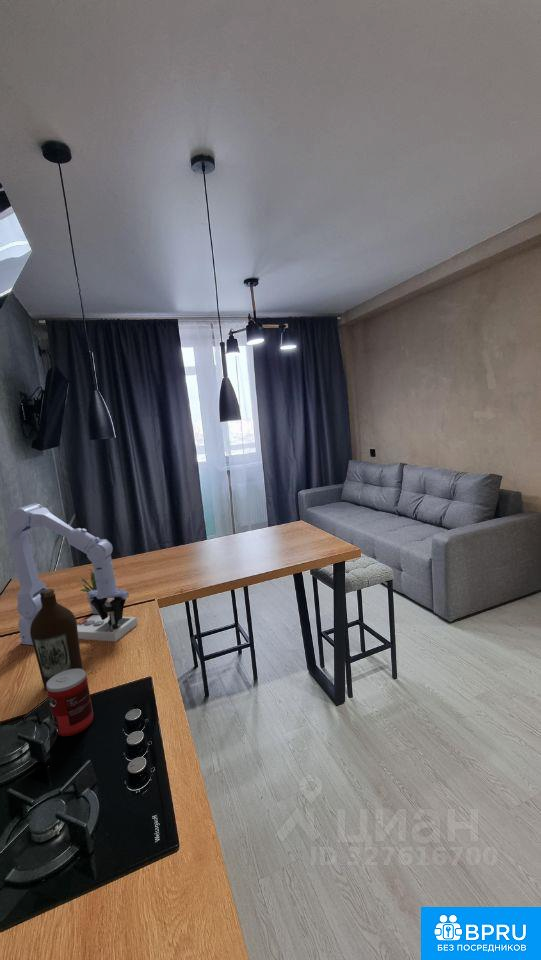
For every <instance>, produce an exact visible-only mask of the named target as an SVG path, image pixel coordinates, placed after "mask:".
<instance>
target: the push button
mask: <svg viewBox="0 0 541 960" xmlns="http://www.w3.org/2000/svg"><path fill="white" fill-rule="evenodd" d="M112 600H114V598H109V599H108V600H107V601H106V602H105V604H103V606H102V607H103V609H104V611H105V612H108V616H109V619H110V620H108V624H109V628H110V629H108V632H113V631H115V630H116V629H117V628H119V627H120V625H119V624H118V621H117V620H116V618H115V613H114V610H113V607H112V606H111V604H110V601H112Z"/></svg>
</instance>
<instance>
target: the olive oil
mask: <svg viewBox="0 0 541 960" xmlns="http://www.w3.org/2000/svg"><path fill="white" fill-rule="evenodd" d="M40 596H41V598H40V599H41V603H42V608H41V609H40V611H39V612H38V614H37V615H36V617H35V618H34V620H33V621H32V624H31V629H30V635H31V639H32V643H33V645H32V646H33V649H34V653H35V657H36V661H37V664H38V669H39V672H40V676H41V680H42V685H43V689H44V691H45V692H47V688H46V684H47V682H48V680H49V679H50V678H52V677H53V676H55V675H56V674H58V673H60V672H63V671H66V670H69V669H83V670H84V667H83V662H82V661H83V660H82V654H81V649H80V647H81V646H80V639H78V630H77V625H78V624H77V619H76V616H75V615H74V613H73V611H72V610H71V609H69V608H67V607H65V606H63V605H61V604H60V603H58V602H57V596H56V594H55V590H54V588H47V589H46V590H43V591H41V592H40Z"/></svg>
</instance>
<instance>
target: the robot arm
mask: <svg viewBox="0 0 541 960" xmlns="http://www.w3.org/2000/svg"><path fill="white" fill-rule="evenodd" d="M5 520H6V524H7V525H6V528H5V529H6V530H5V538H6V541H7V545H8V548H9V551H10V556H11V558H12V562H13V565H14V569H15V572H16V573H15V574H16V575H17V579H18V582H19V586H20V589H19V591H18V593H17V596H16V599H17V605H16V610H17V612H18V615H20V617H19V619H18V631H19V634H20V641H19V644H20V645H29V646H30V645H31V646H33V643H32V639H31V635H30V629H31V624H32V621H33V620H34V618H35V617H36V615H37V614H38V612H39V611H40V609H41V608H42V603H41V599H40V598H41V596H40V592H41V591H43V590H46V589H48V588H47V584H46V583H44V582H42V581H40V576H39V572H38V571H37V566H36V562H35V560H34V555H33V552H32V549H31V546H30V542H29V538H28V534H29V533H30V531H31V530H32V529H33V528H38V527H40V528H41V527H44V528H46V529H48V530H50V531H53V532H54V533H56V534H58V535H60V536H62V537H65V538H66V539H67V542H68V544H69V545H70V546H72V547H74V548H75V549H77V550H79V551H80V552H82V553H84V554H86V558H88V560H89V561H90V562H91V564H92V569H93V573H94V575H95V580H96V586H97V590H91V589H90V590H91V591H89V592H86V594H87V597H88V598H92V597H93V598H94V599H93V600H92V601H91V604H92V605H93V606H94V607H95V608H96V610H97V611H98V613H99V614H98V616H100V617H101V619H102V620H104V619H106V618H107V617H108V616H109V612H105V611H104V609H103V607H102V606H103V604H105V602H106V601H107V598H108V599H114V600H112V601H110V604H111V606H112V607H113V610H114V613H115V618H116V620H117V621H119V620H120V619H122V617H124V616H123V613H124V608H125V605H126V604H125V603H126V601H127V598H129V597H130V595H129V590H124V589H121V588H117V582H116V577H115V571H114V570H115V569H113V568H114V566H113V561H112V553H113V550H114V548H113V547H114V546H113V544H112V543H111V542H110V540H108V539H106V538H102V539H101V538H100V537H99V536H95V535H93V534H92V533H89V532H87V531H88V530H87V529H86V528H81V527H78V528H73V527H72V526H71V525H69V524H67V523H66V522H65V521H63V520H62V519H60V518H59V517H57V516H55V515H54V514H52V513H51V512H50V511H49V509H48V508H47V507H44V506H42V504H39V503H37V502H36V503H30V504H28V505H24V506H22V507H18V508H13V509H12V510H10V512H9V513H8V515H7V516H6V517H5ZM88 598H87V599H88Z"/></svg>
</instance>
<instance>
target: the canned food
mask: <svg viewBox="0 0 541 960" xmlns="http://www.w3.org/2000/svg"><path fill="white" fill-rule="evenodd" d="M46 688H47V691H46V694H47V698H48V704H49V708H50V713H51V718H52V723H53V726H54V725H55V726H56V727H57V729H58V732H56V734H57V735H59V736H60V737H68V736H74V735H77V734H79V733H82V732H83V731H84V730H86V729H87V728H88V727H89V726H90V725H91V724H92V722H93V720H94V710H93V706H92V698H91V693H90V688H89V682H88V678H87V673H86V670H84V668H83V669H69V670H66V671H63V672H60V673H58V674H56V675H55V676H53V677H52V678H50V679H49V680H48V682H47V684H46Z"/></svg>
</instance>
